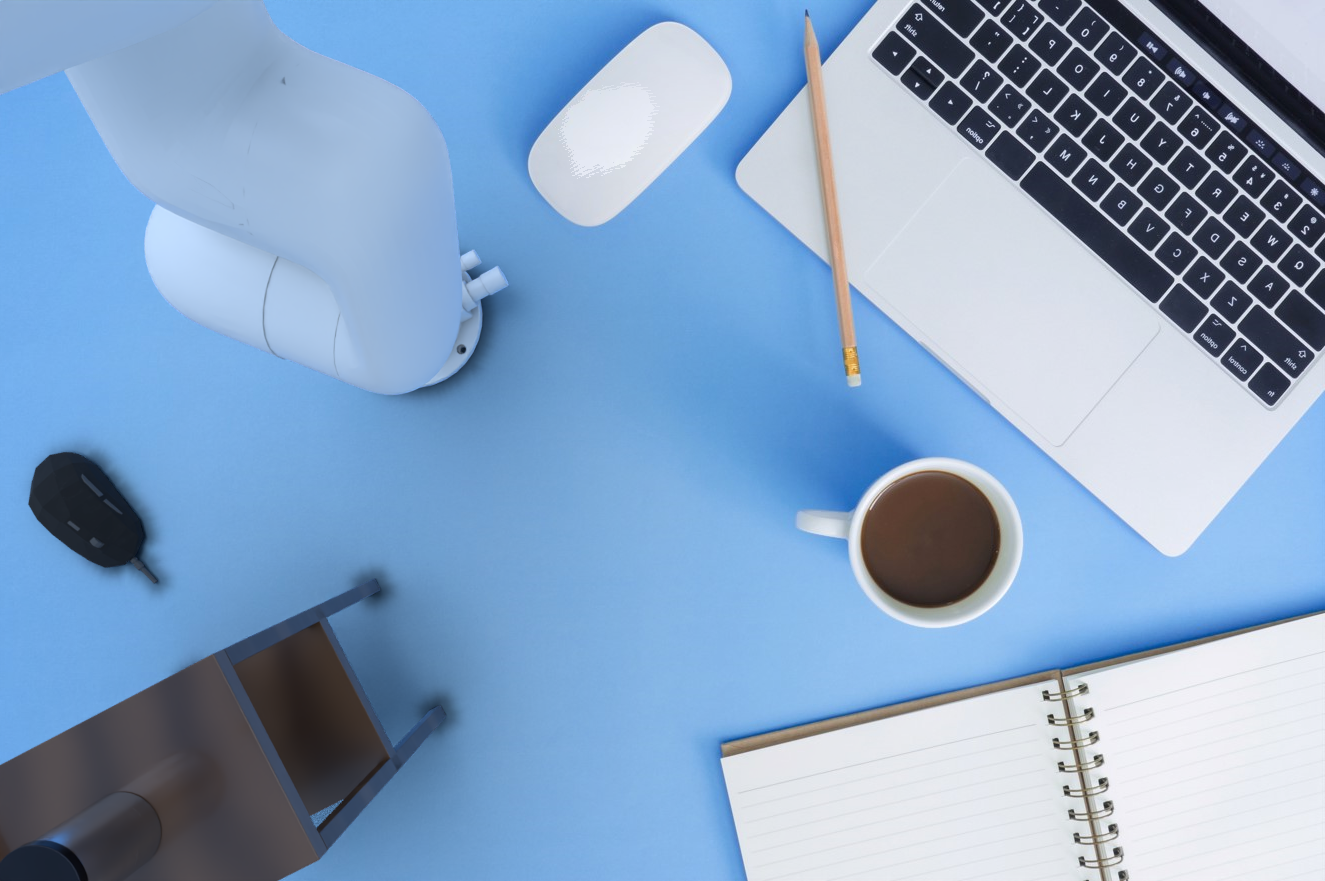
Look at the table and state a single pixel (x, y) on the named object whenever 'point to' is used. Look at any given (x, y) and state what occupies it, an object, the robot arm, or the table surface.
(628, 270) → the table surface
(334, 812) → the rack frame
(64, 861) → the steel tin
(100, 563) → the gaming mouse
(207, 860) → the top shelf
